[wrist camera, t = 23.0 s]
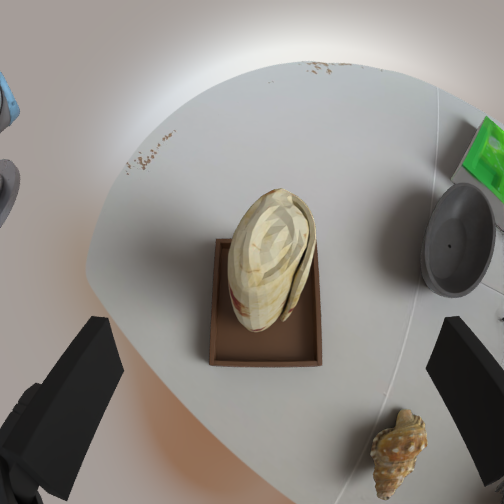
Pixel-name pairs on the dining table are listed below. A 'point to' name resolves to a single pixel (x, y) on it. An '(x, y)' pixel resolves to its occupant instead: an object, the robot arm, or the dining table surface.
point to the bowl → (458, 241)
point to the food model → (270, 259)
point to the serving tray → (274, 337)
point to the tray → (485, 166)
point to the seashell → (397, 452)
